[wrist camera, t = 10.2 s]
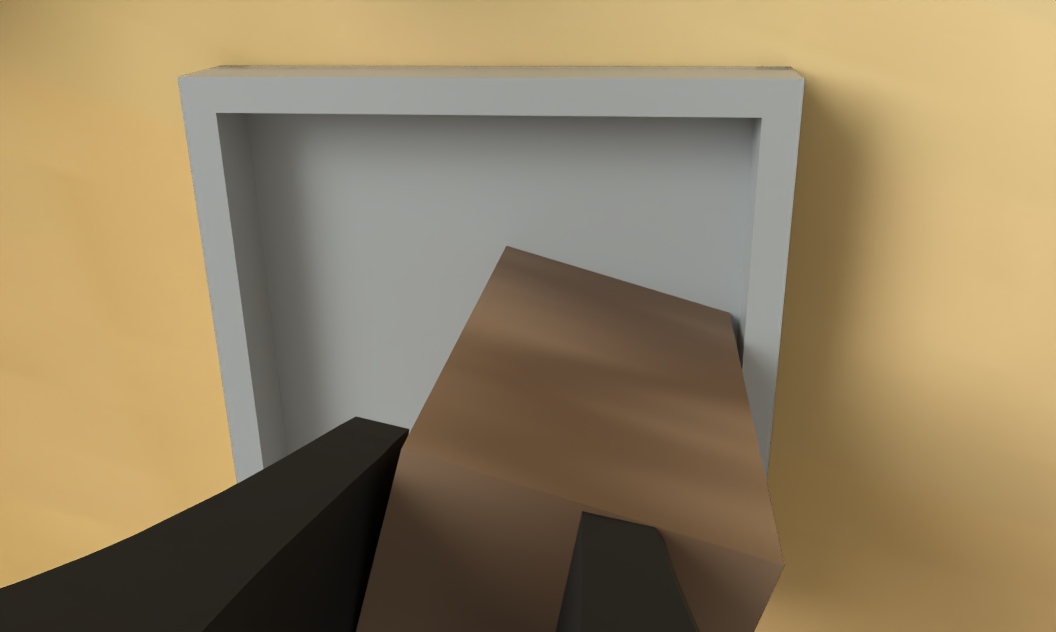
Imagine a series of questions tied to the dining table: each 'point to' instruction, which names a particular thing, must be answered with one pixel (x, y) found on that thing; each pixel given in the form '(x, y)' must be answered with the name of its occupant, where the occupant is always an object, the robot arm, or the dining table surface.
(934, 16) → the dining table surface
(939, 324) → the dining table surface
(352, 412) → the tray
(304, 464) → the robot arm
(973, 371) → the dining table surface
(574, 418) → the block
